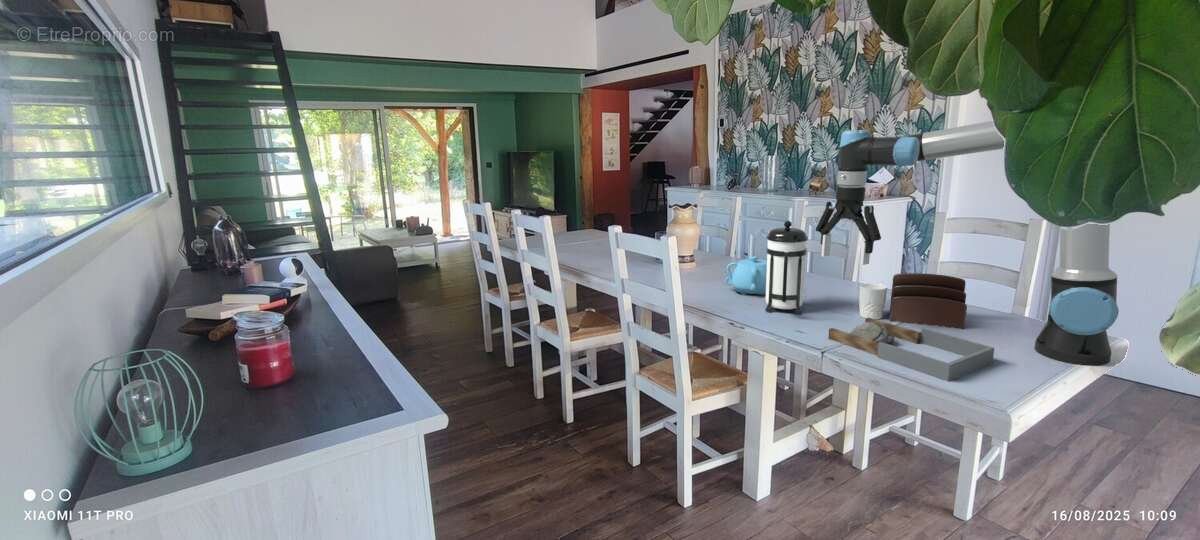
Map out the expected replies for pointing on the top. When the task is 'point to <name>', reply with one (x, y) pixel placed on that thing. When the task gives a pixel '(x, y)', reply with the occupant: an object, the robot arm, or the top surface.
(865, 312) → the white cup
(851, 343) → the slot rails
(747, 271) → the decorative pot
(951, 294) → the letter holder
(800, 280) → the coffee press
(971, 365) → the tray
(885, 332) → the fossilized seashell
